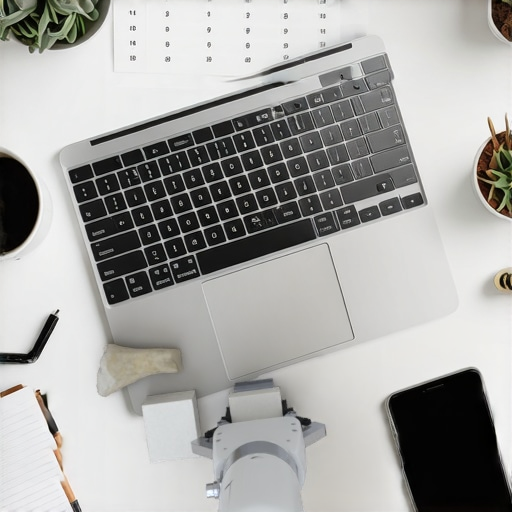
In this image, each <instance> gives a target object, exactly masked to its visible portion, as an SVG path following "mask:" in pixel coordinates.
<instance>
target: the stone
mask: <svg viewBox="0 0 512 512" xmlns="http://www.w3.org/2000/svg"><path fill="white" fill-rule="evenodd" d="M183 370H184V367H183V362H182V352H181V351H180V349H178V348H162V347H161V348H158V347H155V348H134V347H128V346H120V345H117V344H115V343H107V344H105V345H104V346H103V354H102V356H101V357H100V361H99V367H98V372H97V374H96V391H97V394H98V395H99V396H100V397H104V398H107V397H108V396H110V395H111V394H114V393H116V392H119V390H122V389H124V387H126V386H129V385H132V384H133V383H135V382H137V381H139V380H141V379H144V378H145V377H148V376H152V375H157V374H180V373H181V371H183Z"/></svg>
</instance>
